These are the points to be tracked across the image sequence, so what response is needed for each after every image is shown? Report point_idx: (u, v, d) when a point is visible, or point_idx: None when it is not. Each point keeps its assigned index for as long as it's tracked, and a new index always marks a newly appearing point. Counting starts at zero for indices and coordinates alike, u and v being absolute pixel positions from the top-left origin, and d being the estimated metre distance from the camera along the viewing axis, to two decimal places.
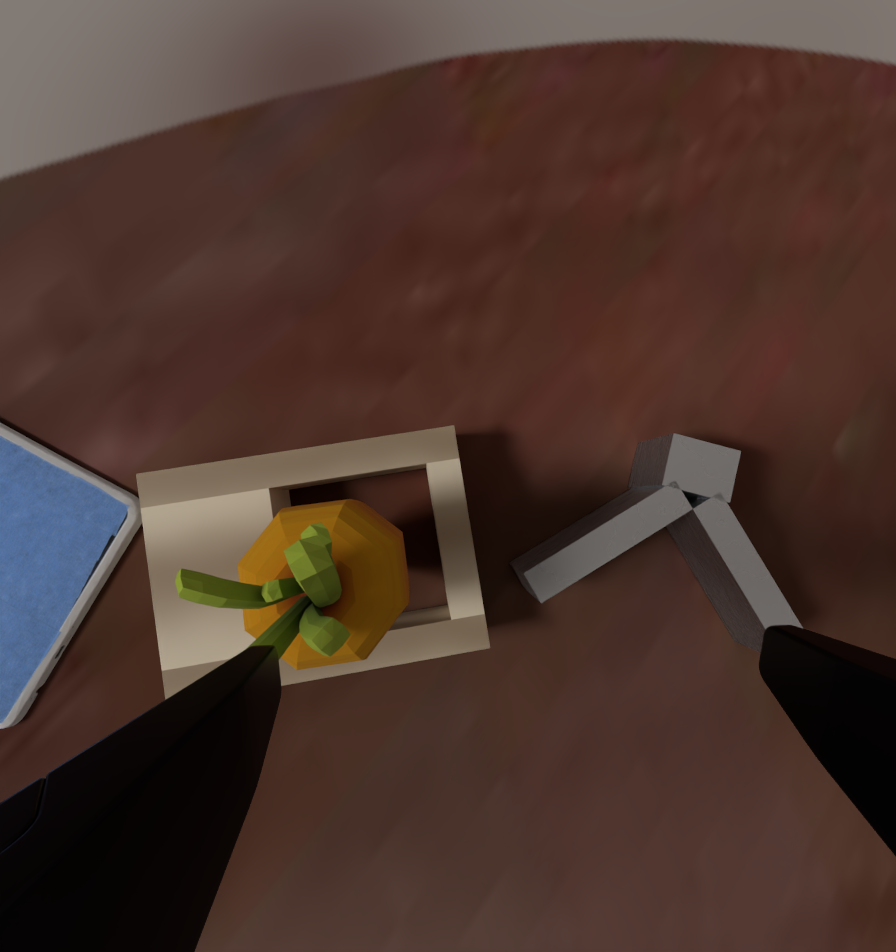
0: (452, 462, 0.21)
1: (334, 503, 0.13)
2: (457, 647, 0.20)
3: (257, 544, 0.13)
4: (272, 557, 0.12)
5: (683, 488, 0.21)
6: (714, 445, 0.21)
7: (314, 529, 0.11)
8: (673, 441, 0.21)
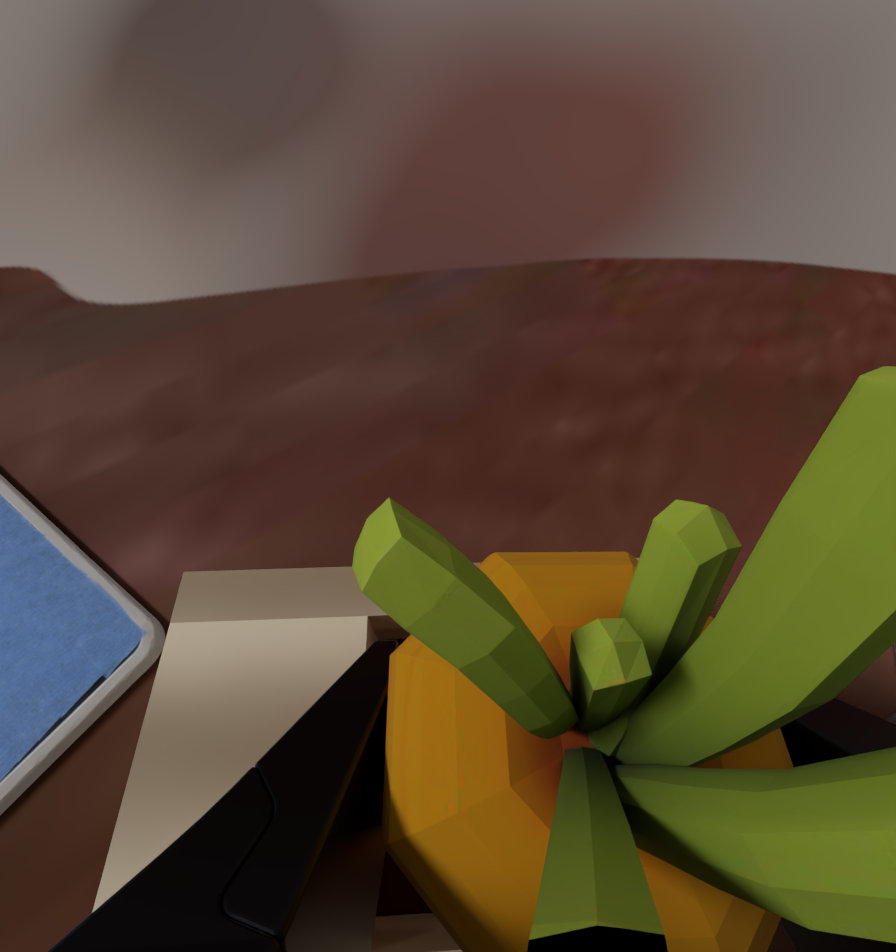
0: None
1: None
2: None
3: None
4: None
5: None
6: None
7: (699, 504, 0.04)
8: None
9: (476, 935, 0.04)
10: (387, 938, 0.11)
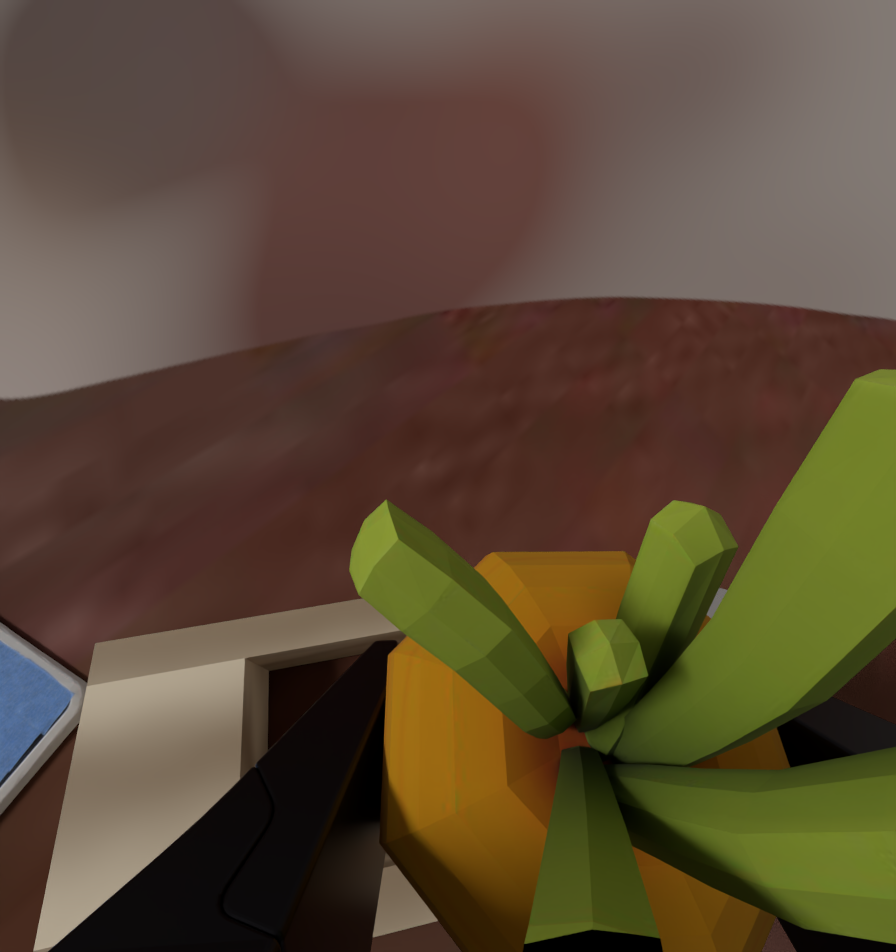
0: None
1: None
2: None
3: None
4: None
5: None
6: None
7: (695, 504, 0.04)
8: None
9: (474, 934, 0.04)
10: None
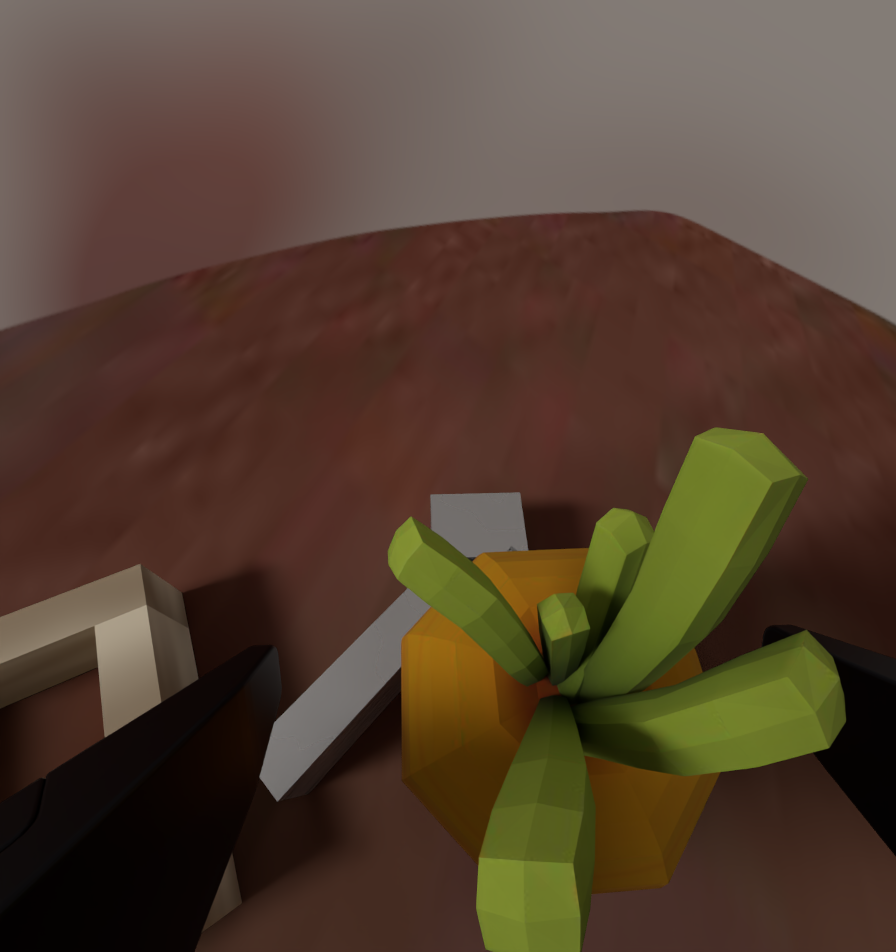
0: (135, 613, 0.14)
1: None
2: None
3: None
4: None
5: None
6: (485, 495, 0.17)
7: (627, 511, 0.06)
8: (433, 504, 0.16)
9: (478, 833, 0.06)
10: None
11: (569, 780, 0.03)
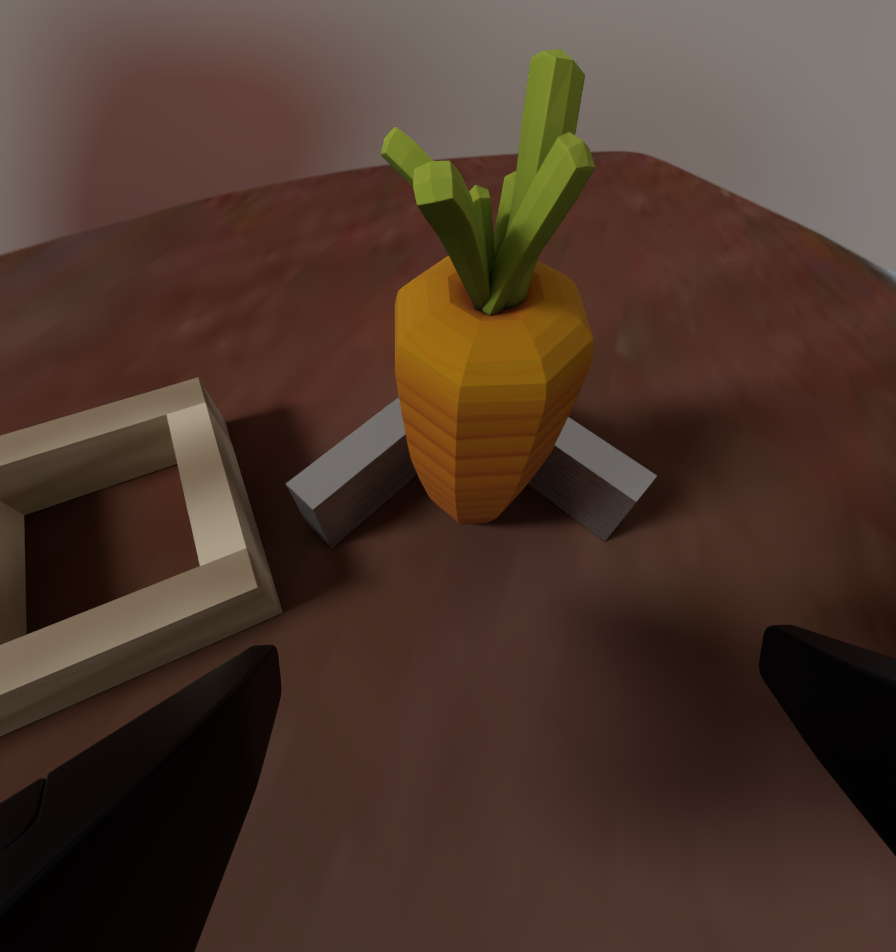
0: (197, 407, 0.19)
1: None
2: (210, 599, 0.15)
3: None
4: (446, 264, 0.11)
5: None
6: None
7: None
8: None
9: (437, 360, 0.10)
10: None
11: None
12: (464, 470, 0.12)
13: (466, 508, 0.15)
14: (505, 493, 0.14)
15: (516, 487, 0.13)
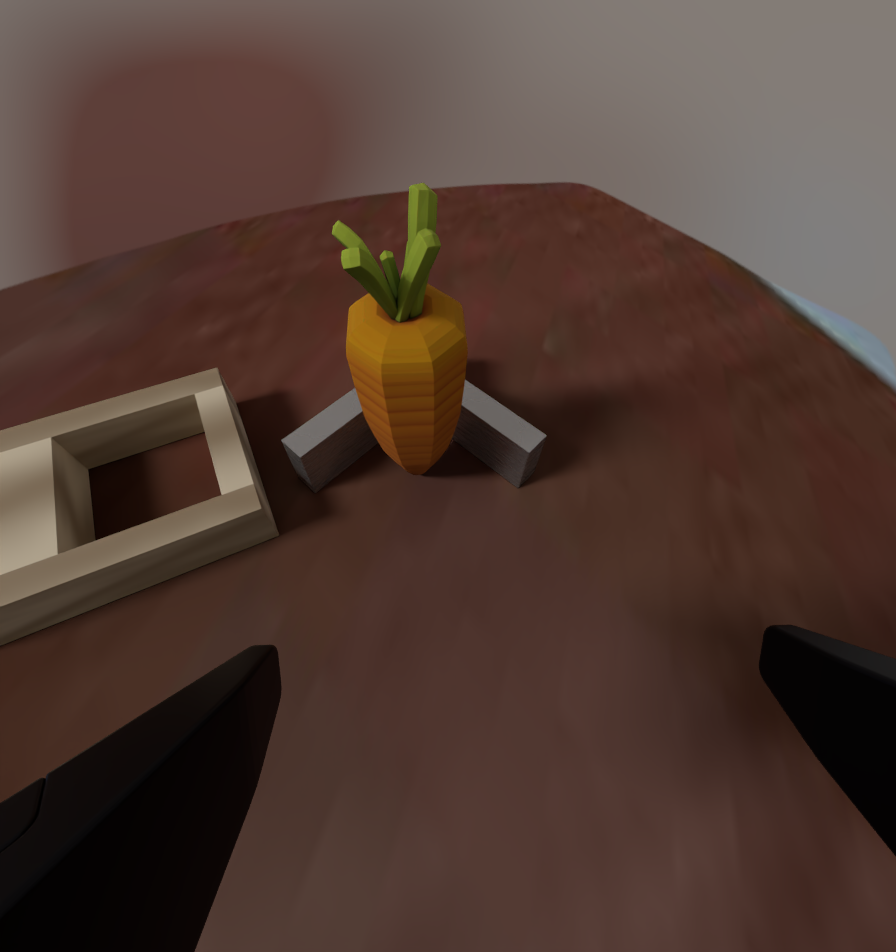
0: (217, 389, 0.25)
1: None
2: (229, 515, 0.21)
3: None
4: None
5: None
6: None
7: None
8: None
9: (368, 348, 0.17)
10: None
11: None
12: (394, 421, 0.19)
13: (405, 454, 0.22)
14: (427, 440, 0.21)
15: (433, 435, 0.20)
